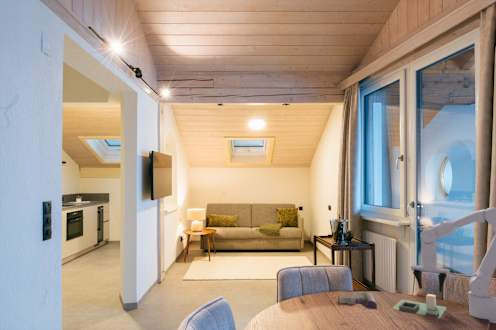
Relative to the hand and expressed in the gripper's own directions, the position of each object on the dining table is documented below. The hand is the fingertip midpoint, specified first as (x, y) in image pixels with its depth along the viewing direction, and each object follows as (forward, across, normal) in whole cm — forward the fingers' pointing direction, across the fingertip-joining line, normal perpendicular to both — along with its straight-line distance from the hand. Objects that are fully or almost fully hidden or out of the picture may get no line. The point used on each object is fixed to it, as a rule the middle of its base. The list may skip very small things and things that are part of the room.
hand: (430, 289), depth 145 cm
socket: (+7, -7, -7) cm, 12 cm away
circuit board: (+8, -4, -3) cm, 10 cm away
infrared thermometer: (+9, -27, -13) cm, 31 cm away
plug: (+7, 0, 0) cm, 7 cm away
